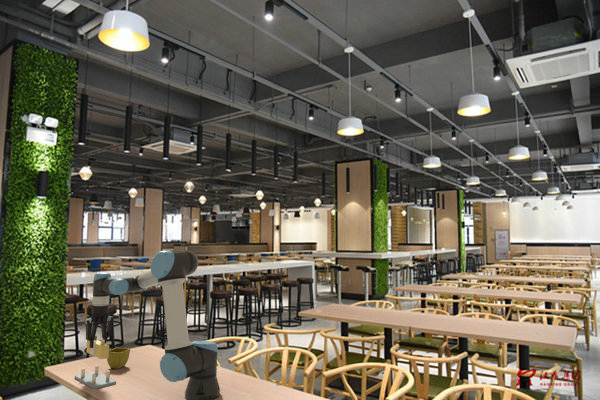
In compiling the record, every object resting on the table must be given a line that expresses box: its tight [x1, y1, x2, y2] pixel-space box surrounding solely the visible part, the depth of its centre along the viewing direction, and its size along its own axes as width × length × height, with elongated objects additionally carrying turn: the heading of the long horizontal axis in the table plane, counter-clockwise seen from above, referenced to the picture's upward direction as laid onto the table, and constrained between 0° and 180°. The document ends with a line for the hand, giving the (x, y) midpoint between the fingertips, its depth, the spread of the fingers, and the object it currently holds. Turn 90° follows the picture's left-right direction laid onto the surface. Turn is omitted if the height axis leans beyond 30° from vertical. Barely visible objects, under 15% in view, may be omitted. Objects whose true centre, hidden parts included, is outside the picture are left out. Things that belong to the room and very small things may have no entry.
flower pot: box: [106, 347, 131, 370], centre depth 221 cm, size 9×9×9 cm
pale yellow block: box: [86, 334, 110, 360], centre depth 201 cm, size 16×4×8 cm, turn 50°
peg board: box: [74, 365, 117, 390], centre depth 199 cm, size 22×10×5 cm, turn 50°
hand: (97, 353), depth 200 cm, fingers closed on pale yellow block, 3 cm apart
